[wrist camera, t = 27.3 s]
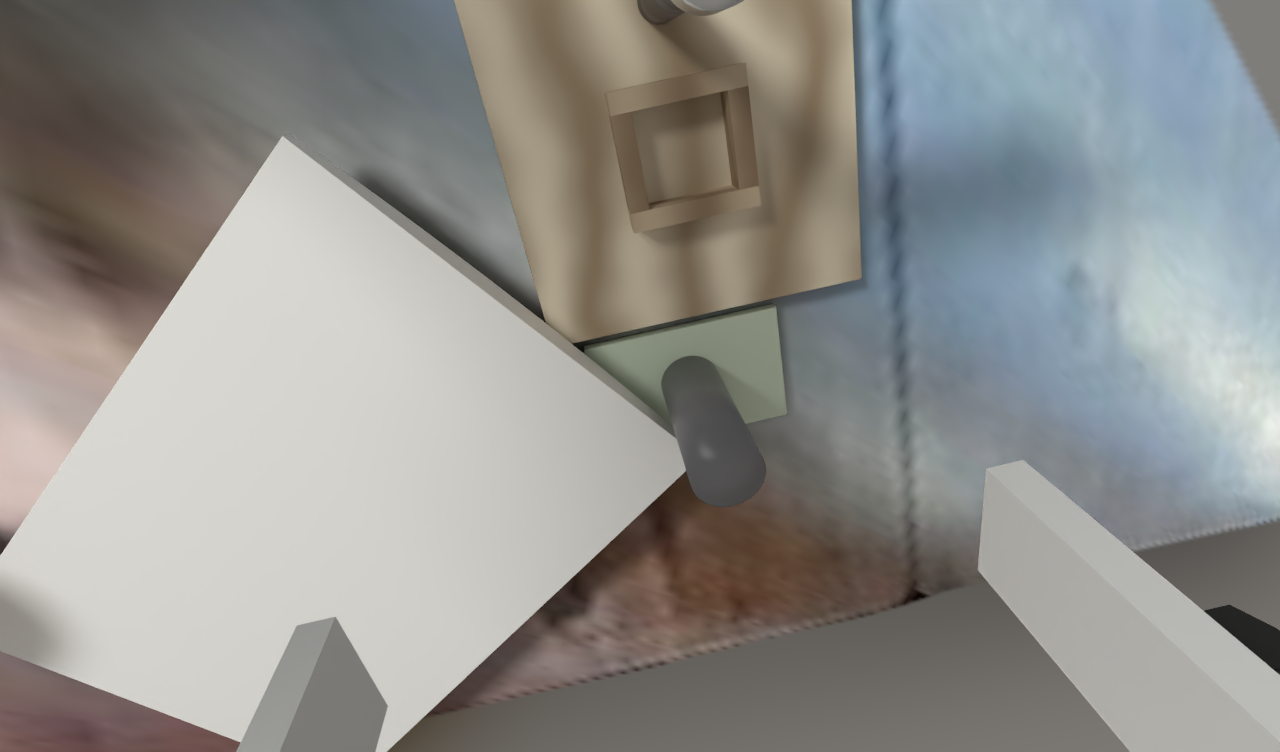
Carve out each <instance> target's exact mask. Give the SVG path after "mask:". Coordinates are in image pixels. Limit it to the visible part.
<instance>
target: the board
mask: <svg viewBox="0 0 1280 752" xmlns="http://www.w3.org/2000/svg"><path fill="white" fill-rule="evenodd" d="M685 471H686V468H685V465H684V461H683V458H682V455H681V452H680V448H679V445H678V442H677V438H676V435H675V432H674V429H673V427H672V426H671V425H670V424H669V423H667V422H666V421H665V420H664V419H663V418H661V417H660V416H659V415H658V414H657V413H655V412H654V411H653V410H652V409H651V408H650V407H648V406H647V405H646V404H645V403H644V402H642V401H641V400H640V399H639V398H638V397H636V396H635V395H634V394H633V393H632V392H630V391H629V390H628V389H627V388H625V387H624V386H623V385H622V384H621V383H619V382H618V381H617V380H616V379H615V378H613V377H612V376H611V375H610V374H608V373H607V372H606V371H605V370H604V369H602V368H601V367H600V366H599V365H597V364H596V363H595V362H594V361H592V360H591V359H590V358H589V357H588V356H586V355H585V354H584V353H583V352H581V351H580V350H579V349H578V348H576V347H575V346H574V345H573V344H571V343H570V342H569V341H568V340H566V339H565V338H564V337H563V336H561V335H560V334H559V333H558V332H556V331H555V330H554V329H552V328H551V327H550V326H549V325H547V324H546V323H545V322H544V321H542V320H541V319H540V318H539V317H537V316H536V315H535V314H533V313H532V312H531V311H530V310H528V309H527V308H526V307H524V306H523V305H522V304H521V303H519V302H518V301H517V300H515V299H514V298H513V297H512V296H510V295H509V294H508V293H506V292H505V291H504V290H503V289H501V288H500V287H499V286H497V285H496V284H495V283H493V282H492V281H491V280H490V279H488V278H487V277H486V276H484V275H483V274H482V273H480V272H479V271H478V270H476V269H475V268H474V267H472V266H471V265H470V264H469V263H467V262H466V261H465V260H463V259H462V258H461V257H459V256H458V255H457V254H455V253H454V252H453V251H451V250H450V249H449V248H447V247H446V246H445V245H443V244H442V243H441V242H439V241H438V240H437V239H435V238H434V237H433V236H431V235H430V234H429V233H427V232H426V231H425V230H423V229H422V228H421V227H419V226H418V225H417V224H415V223H414V222H412V221H411V220H410V219H408V218H407V217H406V216H404V215H403V214H402V213H400V212H399V211H398V210H396V209H395V208H393V207H392V206H391V205H389V204H388V203H387V202H385V201H384V200H383V199H381V198H380V197H378V196H377V195H376V194H374V193H373V192H372V191H370V190H369V189H367V188H366V187H365V186H363V185H362V184H361V183H359V182H358V181H356V180H355V179H354V178H352V177H351V176H350V175H348V174H347V173H345V172H344V171H343V170H341V169H340V168H338V167H337V166H336V165H334V164H333V163H332V162H330V161H329V160H327V159H326V158H325V157H323V156H322V155H320V154H319V153H318V152H316V151H315V150H313V149H312V148H311V147H309V146H308V145H306V144H305V143H304V142H302V141H301V140H299V139H298V138H297V137H295V136H294V135H292V134H290V135H285V136H282V138H281V139H280V140H279V142H278V143H277V145H276V146H275V148H274V149H273V151H272V152H271V154H270V155H269V157H268V158H267V160H266V161H265V163H264V164H263V166H262V167H261V169H260V170H259V172H258V173H257V175H256V176H255V178H254V179H253V181H252V182H251V184H250V185H249V187H248V188H247V190H246V191H245V193H244V194H243V195H242V197H241V198H240V200H239V201H238V203H237V204H236V206H235V207H234V209H233V210H232V212H231V213H230V215H229V216H228V218H227V219H226V221H225V222H224V224H223V225H222V227H221V228H220V230H219V231H218V233H217V234H216V236H215V237H214V239H213V240H212V242H211V243H210V245H209V246H208V248H207V249H206V251H205V252H204V253H203V255H202V256H201V258H200V259H199V261H198V262H197V264H196V265H195V267H194V268H193V270H192V271H191V273H190V274H189V276H188V277H187V279H186V280H185V282H184V283H183V285H182V286H181V288H180V289H179V291H178V292H177V294H176V295H175V297H174V298H173V300H172V301H171V303H170V304H169V306H168V307H167V309H166V310H165V311H164V313H163V314H162V316H161V317H160V319H159V320H158V322H157V323H156V325H155V326H154V328H153V329H152V331H151V332H150V334H149V335H148V337H147V338H146V340H145V341H144V343H143V344H142V346H141V347H140V349H139V350H138V352H137V353H136V355H135V356H134V358H133V359H132V361H131V362H130V364H129V365H128V366H127V368H126V369H125V371H124V372H123V374H122V375H121V377H120V378H119V380H118V381H117V383H116V384H115V386H114V387H113V389H112V390H111V392H110V393H109V395H108V396H107V398H106V399H105V401H104V402H103V404H102V405H101V407H100V408H99V410H98V411H97V413H96V414H95V416H94V417H93V419H92V420H91V422H90V423H89V424H88V426H87V427H86V429H85V430H84V432H83V433H82V435H81V436H80V438H79V439H78V441H77V442H76V444H75V445H74V447H73V448H72V450H71V451H70V453H69V454H68V456H67V457H66V459H65V460H64V462H63V463H62V465H61V466H60V468H59V469H58V471H57V472H56V474H55V475H54V477H53V478H52V480H51V481H50V482H49V484H48V485H47V487H46V488H45V490H44V491H43V493H42V494H41V496H40V497H39V499H38V500H37V502H36V503H35V505H34V506H33V508H32V509H31V511H30V512H29V514H28V515H27V517H26V518H25V520H24V521H23V523H22V524H21V526H20V527H19V529H18V530H17V532H16V533H15V535H14V536H13V537H12V539H11V540H10V542H9V543H8V545H7V546H6V548H5V549H4V551H3V552H2V554H1V555H0V651H2V652H4V653H7V654H9V655H12V656H15V657H17V658H20V659H23V660H25V661H28V662H30V663H33V664H36V665H38V666H41V667H44V668H46V669H49V670H52V671H54V672H57V673H59V674H62V675H65V676H67V677H70V678H73V679H75V680H78V681H81V682H83V683H86V684H88V685H91V686H94V687H96V688H99V689H102V690H104V691H107V692H110V693H112V694H115V695H117V696H120V697H123V698H125V699H128V700H131V701H133V702H136V703H138V704H141V705H144V706H146V707H149V708H152V709H154V710H157V711H160V712H162V713H165V714H167V715H170V716H173V717H175V718H178V719H181V720H183V721H186V722H189V723H191V724H194V725H196V726H199V727H202V728H204V729H207V730H210V731H212V732H215V733H218V734H220V735H223V736H225V737H228V738H231V739H233V740H236V741H239V742H241V741H242V739H243V737H244V735H245V733H246V731H247V729H248V726H249V724H250V722H251V720H252V718H253V716H254V714H255V712H256V710H257V708H258V706H259V703H260V701H261V699H262V697H263V695H264V693H265V691H266V689H267V687H268V685H269V683H270V680H271V678H272V676H273V674H274V672H275V670H276V668H277V666H278V664H279V662H280V660H281V657H282V655H283V653H284V651H285V649H286V647H287V645H288V643H289V641H290V639H291V637H292V634H293V632H294V630H295V628H296V626H297V625H301V624H305V623H310V622H314V621H319V620H323V619H327V618H332V617H336V618H337V620H338V622H339V623H340V625H341V627H342V628H343V630H344V632H345V634H346V635H347V637H348V639H349V640H350V642H351V644H352V646H353V647H354V649H355V651H356V652H357V654H358V656H359V658H360V659H361V661H362V663H363V664H364V666H365V668H366V670H367V671H368V673H369V675H370V676H371V678H372V680H373V681H374V683H375V685H376V687H377V688H378V690H379V692H380V693H381V695H382V697H383V699H384V700H385V702H386V704H387V705H388V707H387V711H386V715H385V718H384V722H383V726H382V729H381V733H380V737H379V740H378V744H377V748H376V751H375V752H387V751H388V750H389V749H390V748H391V747H392V746H393V745H394V744H395V743H396V742H398V741H399V740H400V739H401V738H402V737H403V736H404V735H405V734H406V733H407V732H408V731H409V730H410V729H411V728H412V727H414V726H415V725H416V724H417V723H418V722H419V721H420V720H421V719H422V718H423V717H424V716H425V715H426V714H427V713H429V712H430V711H431V710H432V709H433V708H434V707H435V706H436V705H437V704H438V703H439V702H440V701H441V700H442V699H443V698H445V697H446V696H447V695H448V694H449V693H450V692H451V691H452V690H453V689H454V688H455V687H456V686H457V685H458V684H459V683H461V682H462V681H463V680H464V679H465V678H466V677H467V676H468V675H469V674H470V673H471V672H472V671H473V670H474V669H475V668H476V667H478V666H479V665H480V664H481V663H482V662H483V661H484V660H485V659H486V658H487V657H488V656H489V655H490V654H491V653H492V652H494V651H495V650H496V649H497V648H498V647H499V646H500V645H501V644H502V643H503V642H504V641H505V640H506V639H507V638H508V637H510V636H511V635H512V634H513V633H514V632H515V631H516V630H517V629H518V628H519V627H520V626H521V625H522V624H523V623H524V622H526V621H527V620H528V619H529V618H530V617H531V616H532V615H533V614H534V613H535V612H536V611H537V610H538V609H539V608H540V607H542V606H543V605H544V604H545V603H546V602H547V601H548V600H549V599H550V598H551V597H552V596H553V595H554V594H555V593H556V592H558V591H559V590H560V589H561V588H562V587H563V586H564V585H565V584H566V583H567V582H568V581H569V580H570V579H571V578H572V577H573V576H575V575H576V574H577V573H578V572H579V571H580V570H581V569H582V568H583V567H584V566H585V565H586V564H587V563H588V562H589V561H591V560H592V559H593V558H594V557H595V556H596V555H597V554H598V553H599V552H600V551H601V550H602V549H603V548H604V547H605V546H607V545H608V544H609V543H610V542H611V541H612V540H613V539H614V538H615V537H616V536H617V535H618V534H619V533H620V532H621V531H623V530H624V529H625V528H626V527H627V526H628V525H629V524H630V523H631V522H632V521H633V520H634V519H635V518H636V517H637V516H639V515H640V514H641V513H642V512H643V511H644V510H645V509H646V508H647V507H648V506H649V505H650V504H651V503H652V502H653V501H655V500H656V499H657V498H658V497H659V496H660V495H661V494H662V493H663V492H664V491H665V490H666V489H667V488H668V487H669V486H670V485H672V484H673V483H674V482H675V481H676V480H677V479H678V478H679V477H680V476H681V475H682V474H683V473H684V472H685Z"/></svg>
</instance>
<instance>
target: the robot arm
mask: <svg viewBox="0 0 1280 752" xmlns="http://www.w3.org/2000/svg"><path fill="white" fill-rule="evenodd" d="M978 571H979V572H980V573H981V574H982V576H983V577H984V578H985V579H986V580H987V582H988V583H989V584H990V585H991V586H992V588H993V589H994V590H995V591H996V592H997V594H998V595H999V596H1000V597H1001V598H1002V599H1003V601H1004V602H1005V603H1006V604H1007V605H1008V607H1009V608H1010V609H1011V610H1012V611H1013V613H1014V614H1015V615H1016V616H1017V617H1018V618H1019V620H1020V621H1021V622H1022V623H1023V624H1024V626H1025V627H1026V628H1027V629H1028V631H1029V632H1030V633H1031V634H1032V635H1033V637H1034V638H1035V639H1036V640H1037V641H1038V642H1039V644H1040V645H1041V646H1042V647H1043V648H1044V650H1045V651H1046V652H1047V653H1048V654H1049V656H1050V657H1051V658H1052V659H1053V660H1054V662H1055V663H1056V664H1057V665H1058V666H1059V667H1060V669H1061V670H1062V671H1063V672H1064V674H1065V675H1066V676H1067V677H1068V678H1069V679H1070V681H1071V682H1072V683H1073V684H1074V685H1075V686H1076V688H1077V689H1078V690H1079V691H1080V692H1081V694H1082V695H1083V696H1084V697H1085V699H1086V700H1087V701H1088V702H1089V703H1090V705H1091V706H1092V707H1093V708H1094V709H1095V710H1096V712H1097V713H1098V714H1099V715H1100V716H1101V718H1102V719H1103V720H1104V721H1105V722H1106V724H1107V725H1108V726H1109V727H1110V728H1111V730H1112V731H1113V732H1114V733H1115V734H1116V736H1117V737H1118V738H1119V739H1120V740H1121V742H1122V743H1123V744H1124V745H1125V746H1126V747H1127V749H1128V750H1129V751H1130V752H1280V631H1279V630H1278V629H1276V628H1275V627H1273V626H1271V625H1269V624H1267V623H1265V622H1263V621H1261V620H1258V619H1257V618H1255V617H1253V616H1251V615H1249V614H1246V613H1245V612H1243V611H1241V610H1239V609H1237V608H1235V607H1233V606H1231V605H1226V606H1222V607H1218V608H1213V609H1209V610H1205V611H1203V610H1202V609H1200V608H1199V607H1198V606H1197V605H1196V604H1194V603H1193V602H1192V601H1191V600H1190V599H1189V598H1187V597H1186V596H1185V595H1184V594H1183V593H1181V592H1180V591H1179V590H1178V589H1177V588H1175V587H1174V586H1173V585H1172V584H1171V583H1169V582H1168V581H1167V580H1166V579H1165V578H1163V577H1162V576H1161V575H1160V574H1158V572H1156V571H1155V570H1154V569H1153V568H1152V567H1150V566H1149V565H1148V564H1147V563H1145V562H1144V561H1143V560H1142V559H1141V558H1140V557H1138V556H1137V555H1136V554H1135V553H1134V552H1132V551H1131V550H1130V549H1129V548H1128V547H1127V546H1125V545H1124V544H1123V543H1122V542H1121V541H1119V540H1118V539H1117V538H1116V537H1115V536H1113V535H1112V534H1111V533H1110V532H1109V531H1107V530H1106V529H1105V528H1104V527H1103V526H1101V525H1100V524H1099V523H1098V522H1097V521H1095V520H1094V519H1093V518H1092V517H1091V516H1090V515H1088V514H1087V513H1086V512H1085V511H1084V510H1082V509H1081V508H1080V507H1079V506H1078V505H1076V504H1075V503H1074V502H1073V501H1072V500H1070V499H1069V498H1068V497H1067V496H1066V495H1064V494H1063V493H1062V492H1061V491H1060V490H1058V489H1057V488H1056V487H1055V486H1054V485H1053V484H1051V483H1050V482H1049V481H1048V480H1047V479H1045V478H1044V477H1043V476H1042V475H1041V474H1039V473H1038V472H1037V471H1036V470H1035V469H1033V468H1032V467H1031V466H1030V465H1029V464H1027V463H1026V462H1025V461H1024V460H1021V461H1017V462H1013V463H1008V464H1004V465H999V466H995V467H991V468H986V477H985V489H984V501H983V513H982V525H981V538H980V550H979V562H978ZM387 707H388V705H387V704H386V702H385V700H384V699H383V697H382V695H381V693H380V692H379V690H378V688H377V687H376V685H375V683H374V681H373V680H372V678H371V676H370V675H369V673H368V671H367V670H366V668H365V666H364V664H363V663H362V661H361V659H360V658H359V656H358V654H357V652H356V651H355V649H354V647H353V646H352V644H351V642H350V640H349V639H348V637H347V635H346V634H345V632H344V630H343V628H342V627H341V625H340V623H339V622H338V620H337V618H336V617H332V618H327V619H323V620H319V621H314V622H310V623H305V624H301V625H297V626H296V628H295V630H294V632H293V634H292V637H291V639H290V641H289V643H288V645H287V647H286V649H285V651H284V653H283V655H282V657H281V660H280V662H279V664H278V666H277V668H276V670H275V672H274V674H273V676H272V678H271V680H270V683H269V685H268V687H267V689H266V691H265V693H264V695H263V697H262V699H261V701H260V703H259V706H258V708H257V710H256V712H255V714H254V716H253V718H252V720H251V722H250V724H249V726H248V729H247V731H246V733H245V735H244V737H243V739H242V741H241V743H240V745H239V747H238V749H237V752H375V751H376V748H377V744H378V740H379V737H380V733H381V729H382V726H383V722H384V718H385V715H386V711H387Z"/></svg>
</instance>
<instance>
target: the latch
mask: <svg viewBox="0 0 1280 752" xmlns="http://www.w3.org/2000/svg"><path fill="white" fill-rule="evenodd" d="M671 1H672V2H673V3H674V4H675V5H676V6H677V7H678V8H680V9H681V10H683V11H685V12H687V13H689V14H692V15H697V16H708V15H713V14H717V13H719V12H721V11H724V10H726V9H728V8H730V7H733V6H735V5H737V4H739V3H741V2H742V1H744V0H671Z"/></svg>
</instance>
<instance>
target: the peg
mask: <svg viewBox="0 0 1280 752" xmlns="http://www.w3.org/2000/svg"><path fill="white" fill-rule="evenodd" d="M661 388H662V392H663V396H664V399H665V402H666V406H667V409H668V412H669V415H670V419H671V422H672V425H673V429H674V432H675V435H676V438H677V442H678V445H679V448H680V452H681V455H682V458H683V461H684V465H685V468H686V471H687V475H688V478H689V481H690V485H691V488H692V490H693V492H694V494H695V495H696V496H697V497H698V498H699V499H700V500H701V501H703V502H705V503H707V504H709V505H712V506H717V507H729V506H734V505H738V504H740V503H743V502H745V501H746V500H748V499H750V498H751V497H752V496H753V495H755V493H756V492H757V491H758V490H759V489H760V487H761V486H762V484H763V482H764V479H765V475H766V466H765V462H764V459H763V457H762V455H761V453H760V452H759V450H758V448H757V446H756V444H755V442H754V440H753V438H752V436H751V434H750V432H749V430H748V428H747V426H746V424H745V422H744V420H743V419H742V417H741V415H740V413H739V411H738V409H737V407H736V405H735V403H734V401H733V399H732V397H731V395H730V393H729V391H728V389H727V388H726V386H725V384H724V382H723V380H722V378H721V376H720V374H719V372H718V370H717V368H716V367H715V365H714V364H713V363H712V362H711V361H709V360H708V359H706V358H703V357H700V356H686V357H682V358H680V359H678V360H676V361H674V362H673V363H672V364H670V365H669V366H668V368H667V369H666V370H665V372H664V374H663V377H662V381H661Z"/></svg>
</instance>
